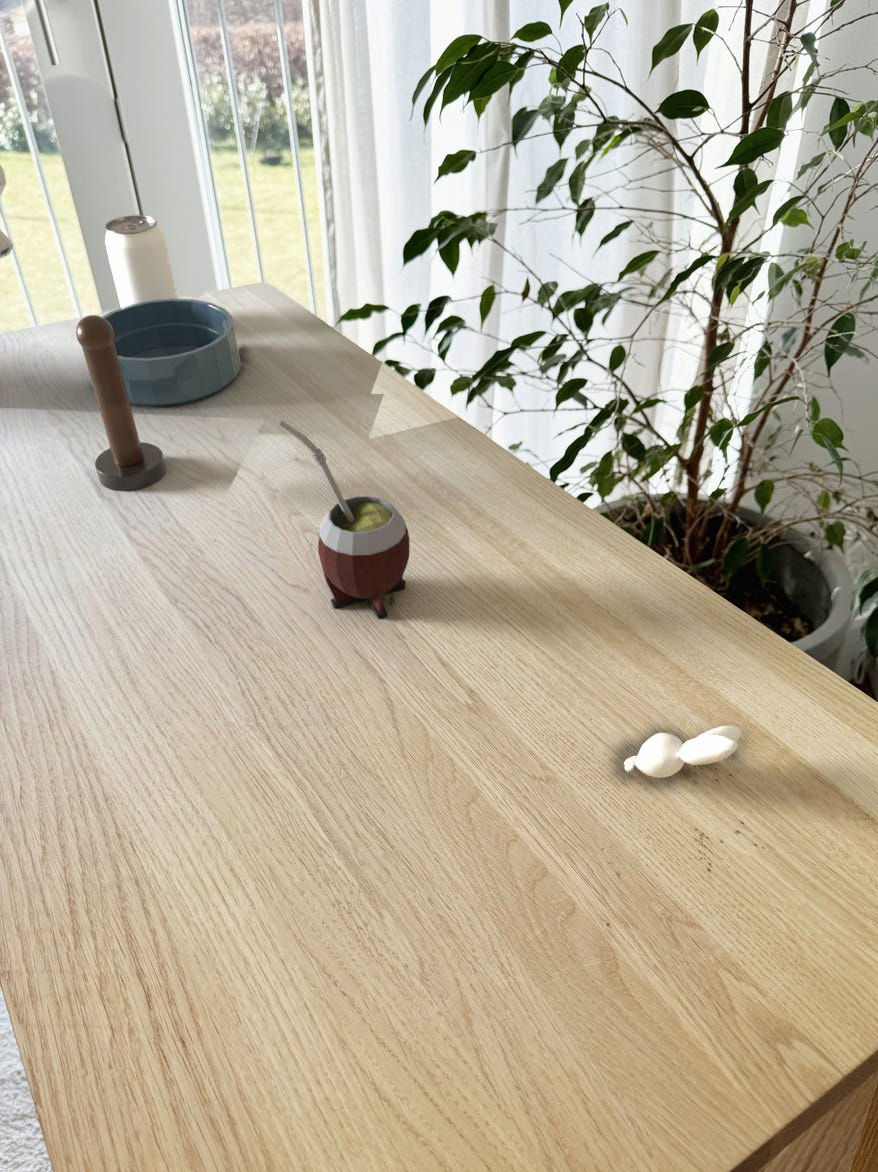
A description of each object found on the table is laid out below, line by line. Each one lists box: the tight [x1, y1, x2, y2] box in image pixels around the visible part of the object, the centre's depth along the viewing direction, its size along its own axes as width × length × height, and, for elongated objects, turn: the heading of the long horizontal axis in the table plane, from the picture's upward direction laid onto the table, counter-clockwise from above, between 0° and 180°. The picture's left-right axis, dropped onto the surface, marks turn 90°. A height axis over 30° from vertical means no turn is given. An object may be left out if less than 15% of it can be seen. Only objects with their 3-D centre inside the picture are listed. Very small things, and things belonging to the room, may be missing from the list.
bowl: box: [102, 298, 242, 407], centre depth 109 cm, size 15×15×6 cm
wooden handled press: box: [75, 314, 167, 492], centre depth 88 cm, size 6×6×16 cm
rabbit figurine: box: [623, 725, 743, 779], centre depth 66 cm, size 6×4×8 cm
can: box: [104, 214, 178, 308], centre depth 116 cm, size 6×6×12 cm
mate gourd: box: [279, 420, 410, 620], centre depth 77 cm, size 8×8×15 cm
